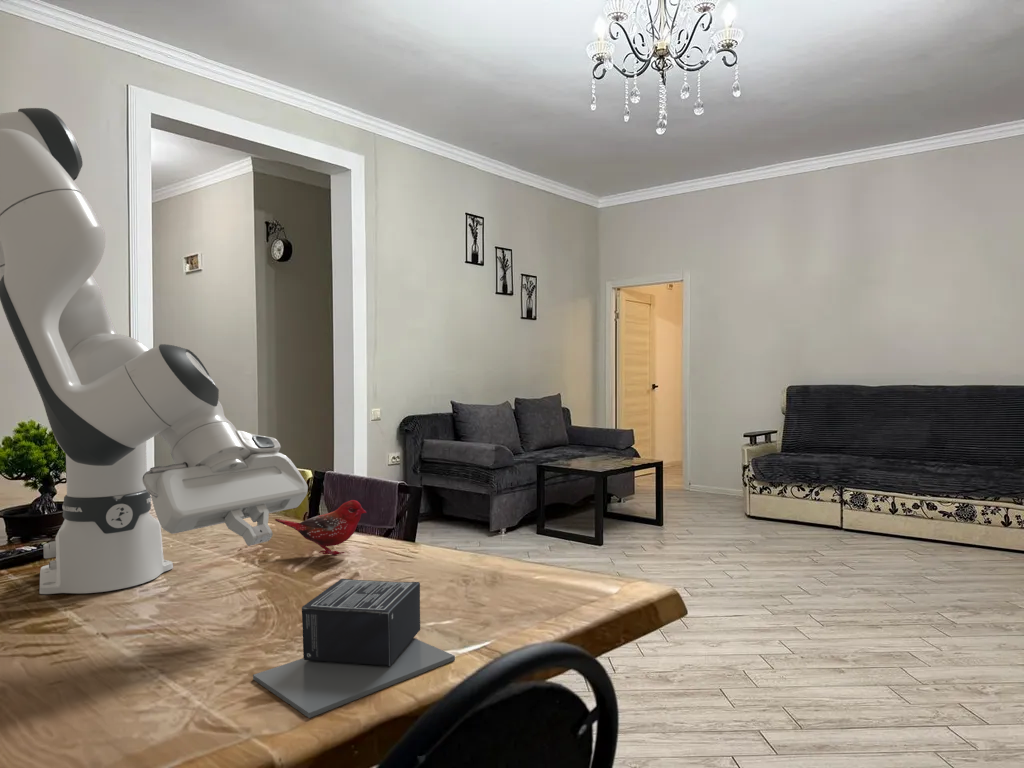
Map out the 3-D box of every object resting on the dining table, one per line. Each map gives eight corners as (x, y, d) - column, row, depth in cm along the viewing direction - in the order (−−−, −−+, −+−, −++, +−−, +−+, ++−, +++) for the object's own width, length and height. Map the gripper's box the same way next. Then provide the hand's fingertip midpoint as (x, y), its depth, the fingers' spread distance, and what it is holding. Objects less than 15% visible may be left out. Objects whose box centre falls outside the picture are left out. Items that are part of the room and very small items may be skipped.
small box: (301, 664, 77) (390, 670, 75) (299, 606, 76) (388, 610, 74) (343, 628, 87) (423, 631, 85) (341, 576, 87) (421, 579, 85)
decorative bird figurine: (364, 558, 121) (363, 501, 121) (271, 555, 124) (269, 499, 124) (370, 554, 124) (369, 498, 124) (279, 550, 127) (278, 496, 127)
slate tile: (253, 679, 74) (253, 674, 74) (392, 632, 87) (392, 628, 87) (309, 718, 65) (309, 713, 65) (454, 660, 78) (454, 655, 78)
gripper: (146, 452, 84) (194, 543, 79) (286, 437, 101) (333, 511, 95) (128, 486, 86) (173, 576, 81) (267, 465, 103) (312, 539, 98)
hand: (261, 540), depth 88 cm, fingers closed
